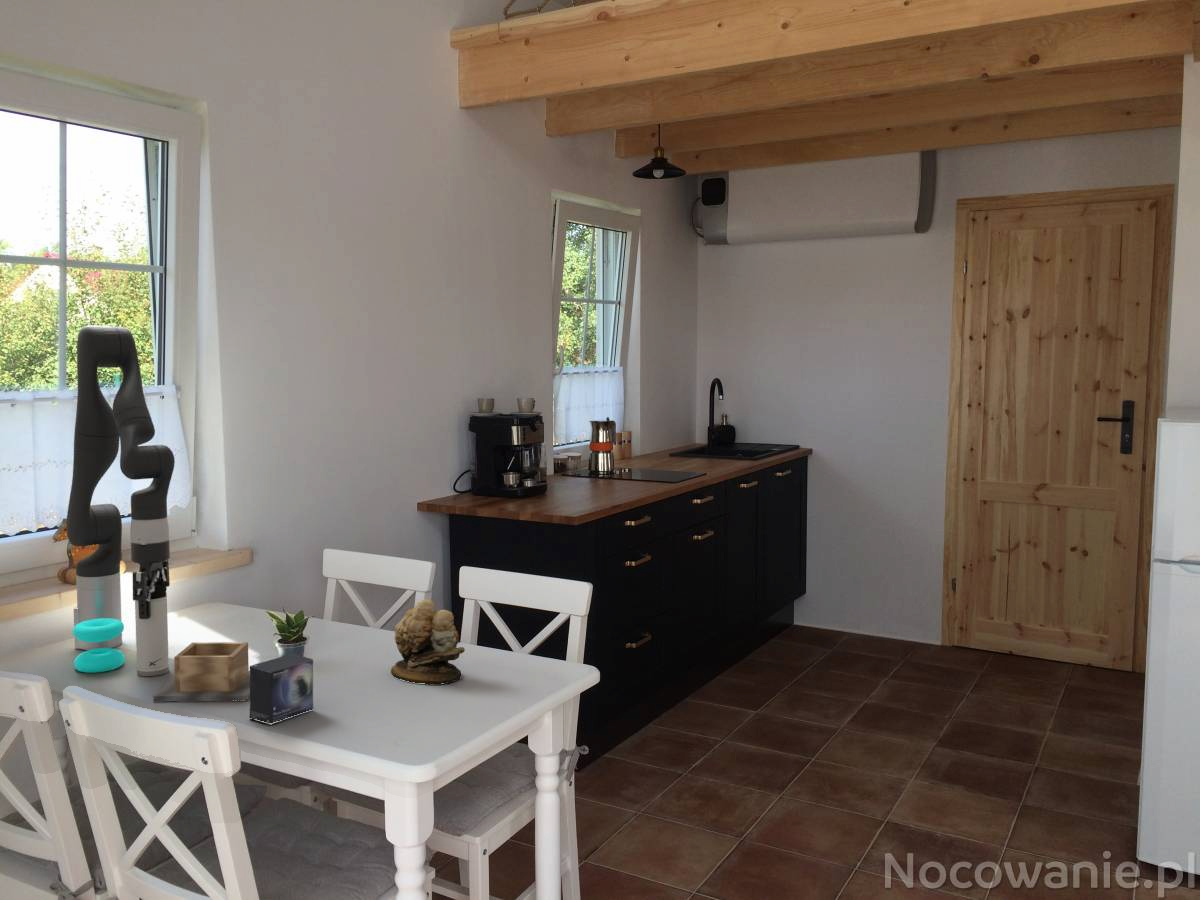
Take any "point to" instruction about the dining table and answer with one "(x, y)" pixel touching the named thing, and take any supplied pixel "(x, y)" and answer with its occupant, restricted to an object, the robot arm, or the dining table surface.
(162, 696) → the box
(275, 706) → the small box
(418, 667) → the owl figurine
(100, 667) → the donuts
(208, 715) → the dining table surface
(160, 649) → the travel mug
